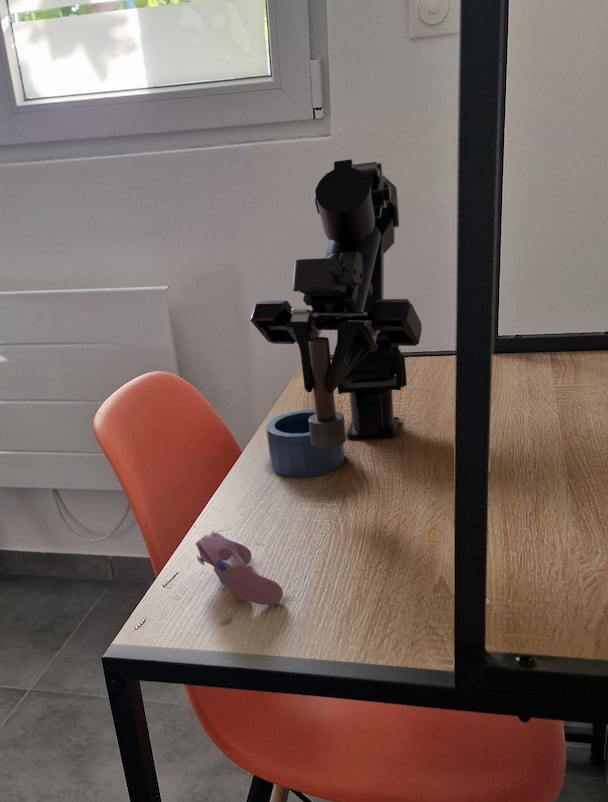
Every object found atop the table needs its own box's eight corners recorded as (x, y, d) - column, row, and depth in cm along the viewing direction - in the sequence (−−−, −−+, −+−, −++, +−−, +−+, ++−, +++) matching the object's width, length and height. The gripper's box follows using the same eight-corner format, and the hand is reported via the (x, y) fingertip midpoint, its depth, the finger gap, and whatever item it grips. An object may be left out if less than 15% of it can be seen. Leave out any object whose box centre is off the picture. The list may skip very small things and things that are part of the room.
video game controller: (218, 582, 85) (179, 537, 82) (252, 554, 85) (215, 508, 82) (252, 629, 77) (210, 582, 73) (290, 598, 77) (250, 549, 73)
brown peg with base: (314, 435, 97) (304, 335, 91) (348, 434, 95) (339, 333, 90) (308, 448, 93) (296, 346, 88) (342, 448, 92) (333, 344, 87)
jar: (281, 448, 113) (276, 410, 110) (349, 447, 110) (346, 408, 107) (263, 477, 104) (258, 437, 102) (336, 477, 102) (332, 435, 99)
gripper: (246, 229, 92) (211, 355, 88) (407, 219, 83) (376, 359, 79) (285, 283, 101) (255, 399, 98) (434, 279, 92) (407, 407, 89)
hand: (317, 391), depth 90 cm, fingers closed on brown peg with base, 2 cm apart
